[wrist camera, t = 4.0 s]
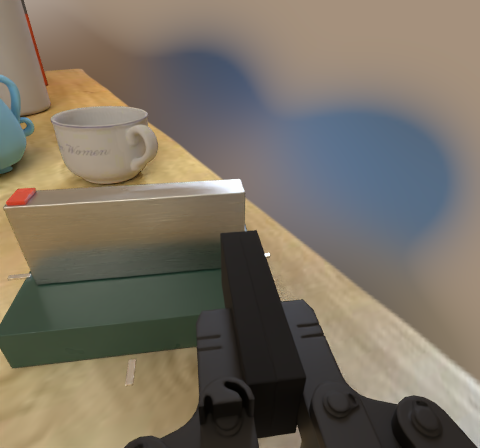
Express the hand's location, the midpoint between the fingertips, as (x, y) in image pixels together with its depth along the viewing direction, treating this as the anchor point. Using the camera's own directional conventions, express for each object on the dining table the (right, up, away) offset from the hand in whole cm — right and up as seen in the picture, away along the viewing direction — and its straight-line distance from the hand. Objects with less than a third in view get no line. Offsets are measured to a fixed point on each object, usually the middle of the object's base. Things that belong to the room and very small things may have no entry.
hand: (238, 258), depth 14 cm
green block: (-7, -4, +11) cm, 14 cm away
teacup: (-15, +7, +29) cm, 34 cm away
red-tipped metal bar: (-7, -2, +10) cm, 12 cm away
